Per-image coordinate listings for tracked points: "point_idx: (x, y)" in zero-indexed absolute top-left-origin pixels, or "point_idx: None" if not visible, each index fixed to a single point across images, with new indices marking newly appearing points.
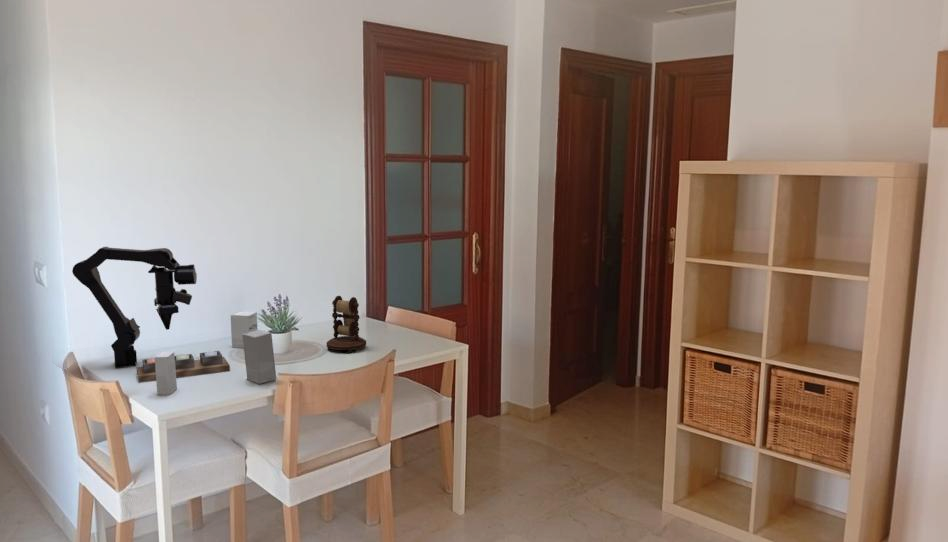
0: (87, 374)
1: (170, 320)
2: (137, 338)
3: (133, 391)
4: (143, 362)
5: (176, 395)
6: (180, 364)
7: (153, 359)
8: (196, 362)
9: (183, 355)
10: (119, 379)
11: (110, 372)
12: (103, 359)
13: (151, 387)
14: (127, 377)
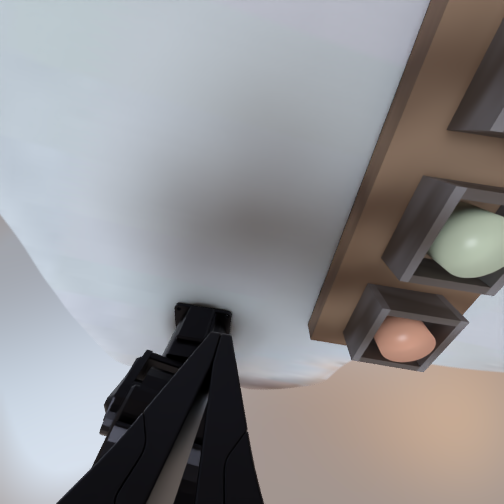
0: (245, 385)
1: (246, 433)
2: (167, 376)
3: (479, 366)
4: (394, 366)
5: None
6: None
7: (402, 345)
8: (444, 154)
9: (467, 241)
10: (338, 360)
11: (258, 358)
12: (122, 343)
13: (496, 334)
14: (335, 347)
